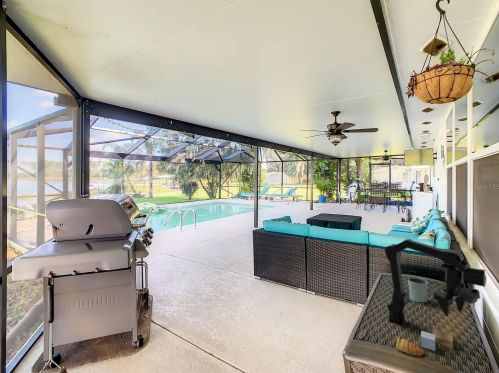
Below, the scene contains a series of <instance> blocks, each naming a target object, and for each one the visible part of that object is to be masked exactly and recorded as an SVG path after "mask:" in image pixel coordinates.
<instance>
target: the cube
mask: <svg viewBox="0 0 499 373" xmlns="http://www.w3.org/2000/svg"><path fill="white" fill-rule="evenodd" d="M421 346H422V347H424V348H428V349H431V350H433V351H435V352H436V344H435V335H434V334H433V333H430V332H427V331H423V330H421V332H420V347H421ZM424 348H423V349H424ZM433 351H432V352H433Z"/></svg>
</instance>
